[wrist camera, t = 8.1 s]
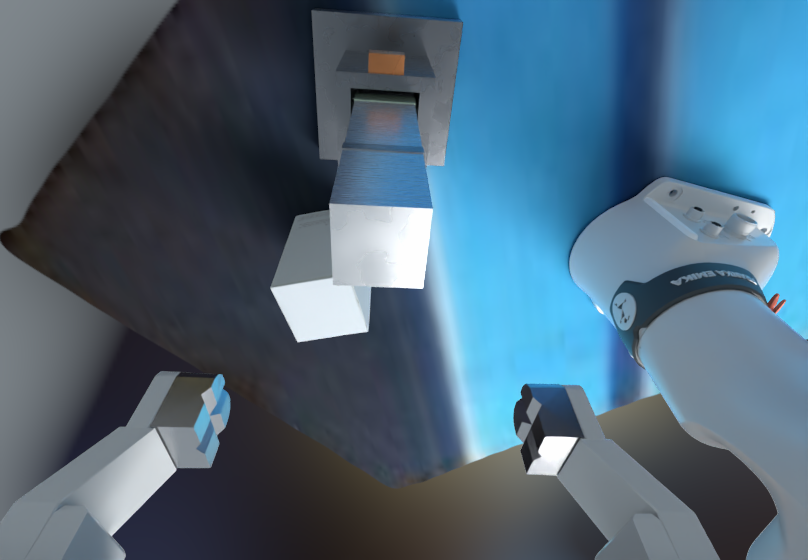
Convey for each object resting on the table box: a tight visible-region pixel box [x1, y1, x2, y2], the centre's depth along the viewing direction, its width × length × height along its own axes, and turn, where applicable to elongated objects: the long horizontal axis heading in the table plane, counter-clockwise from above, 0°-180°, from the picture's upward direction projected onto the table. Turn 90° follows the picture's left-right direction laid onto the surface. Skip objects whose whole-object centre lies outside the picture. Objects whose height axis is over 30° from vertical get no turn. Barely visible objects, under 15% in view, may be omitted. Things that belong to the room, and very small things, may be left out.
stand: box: [311, 8, 463, 167], centre depth 34 cm, size 12×12×10 cm
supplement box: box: [270, 210, 371, 342], centre depth 42 cm, size 7×7×13 cm
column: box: [329, 89, 433, 288], centre depth 24 cm, size 4×4×18 cm
